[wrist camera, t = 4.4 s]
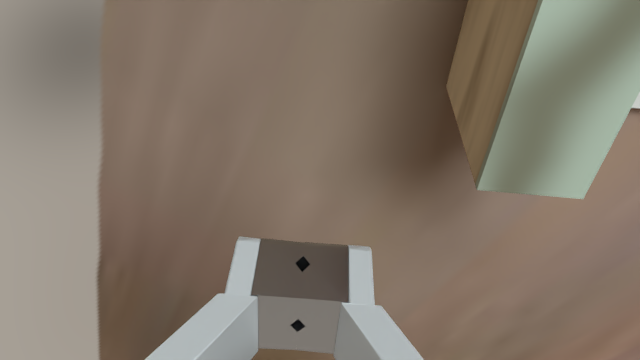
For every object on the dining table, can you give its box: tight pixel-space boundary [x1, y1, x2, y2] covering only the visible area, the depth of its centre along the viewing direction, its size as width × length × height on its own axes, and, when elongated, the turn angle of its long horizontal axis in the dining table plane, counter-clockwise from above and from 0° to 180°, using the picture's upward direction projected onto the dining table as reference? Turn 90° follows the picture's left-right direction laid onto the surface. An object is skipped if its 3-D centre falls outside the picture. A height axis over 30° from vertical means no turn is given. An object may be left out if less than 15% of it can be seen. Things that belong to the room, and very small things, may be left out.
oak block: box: [446, 0, 640, 199], centre depth 24 cm, size 5×12×10 cm, turn 176°
